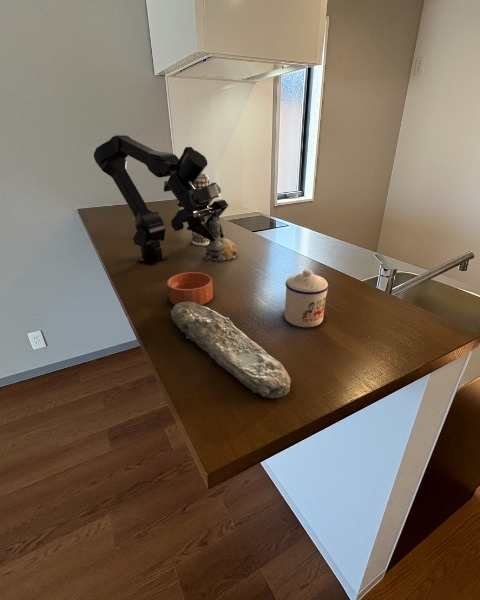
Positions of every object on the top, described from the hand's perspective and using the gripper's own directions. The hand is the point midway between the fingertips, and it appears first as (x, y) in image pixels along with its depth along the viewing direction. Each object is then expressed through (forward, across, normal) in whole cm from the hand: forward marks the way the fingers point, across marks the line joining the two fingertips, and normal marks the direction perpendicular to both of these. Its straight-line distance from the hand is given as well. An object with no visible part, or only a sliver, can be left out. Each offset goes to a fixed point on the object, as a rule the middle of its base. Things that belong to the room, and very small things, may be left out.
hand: (218, 239), depth 88 cm
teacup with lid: (+30, -6, -13) cm, 33 cm away
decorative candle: (-11, +25, +29) cm, 40 cm away
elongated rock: (+23, -27, -7) cm, 36 cm away
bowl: (+10, -14, +7) cm, 18 cm away
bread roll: (0, +16, +17) cm, 23 cm away
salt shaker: (+3, 0, +5) cm, 6 cm away
